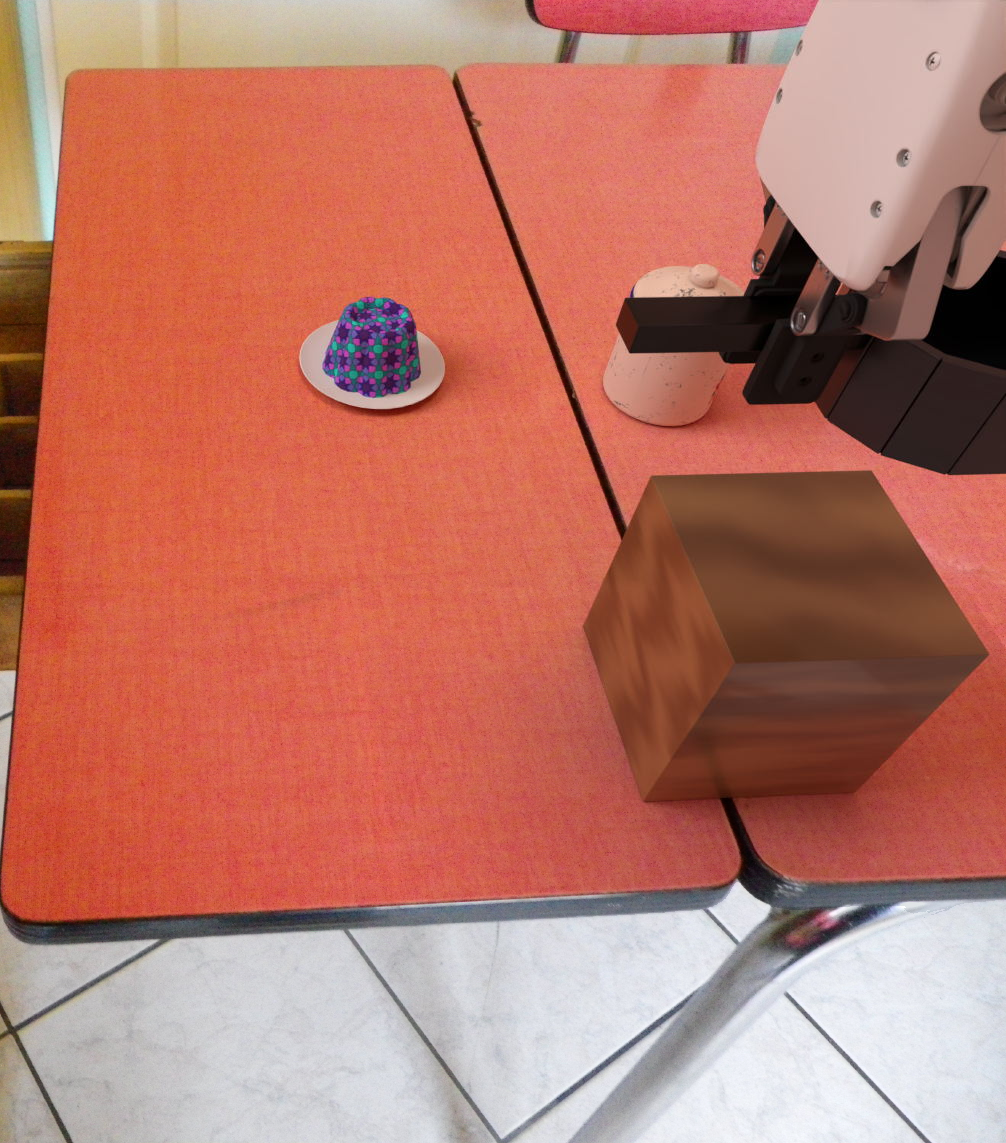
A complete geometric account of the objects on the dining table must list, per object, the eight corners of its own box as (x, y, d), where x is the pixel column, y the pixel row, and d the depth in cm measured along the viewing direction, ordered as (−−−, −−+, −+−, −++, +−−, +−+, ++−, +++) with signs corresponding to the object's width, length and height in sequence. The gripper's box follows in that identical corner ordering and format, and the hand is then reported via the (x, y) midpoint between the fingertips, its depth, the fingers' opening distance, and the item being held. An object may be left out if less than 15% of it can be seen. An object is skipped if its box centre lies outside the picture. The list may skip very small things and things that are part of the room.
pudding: (407, 314, 92) (417, 261, 88) (468, 400, 84) (481, 347, 80) (278, 337, 89) (282, 284, 85) (329, 428, 82) (335, 375, 78)
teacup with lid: (729, 428, 83) (792, 305, 74) (618, 432, 82) (668, 308, 73) (676, 335, 91) (727, 213, 82) (574, 338, 90) (615, 215, 81)
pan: (969, 329, 51) (1030, 236, 47) (1091, 472, 44) (1173, 378, 40) (568, 335, 49) (598, 241, 46) (632, 483, 43) (673, 388, 39)
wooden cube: (855, 792, 62) (990, 654, 52) (642, 801, 61) (734, 663, 51) (770, 619, 71) (871, 469, 60) (582, 625, 70) (650, 475, 59)
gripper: (1313, 3, 27) (936, 507, 41) (988, -176, 37) (776, 274, 51) (1034, 3, 26) (750, 512, 40) (783, -178, 37) (626, 276, 51)
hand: (766, 376), depth 46 cm, fingers closed on pan
